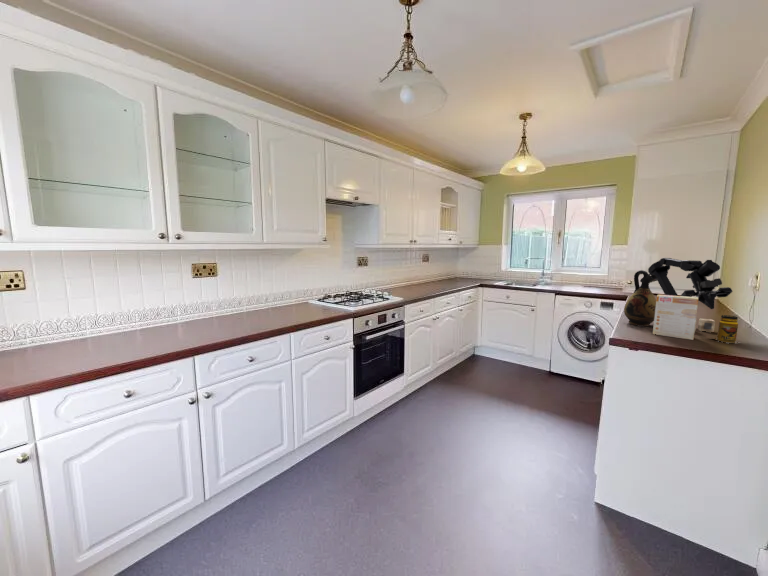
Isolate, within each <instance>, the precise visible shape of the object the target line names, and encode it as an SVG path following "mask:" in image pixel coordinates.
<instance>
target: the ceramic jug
mask: <svg viewBox="0 0 768 576" xmlns="http://www.w3.org/2000/svg"><path fill="white" fill-rule="evenodd" d="M640 275H643V277H642V278H640V280H639V276H640ZM633 280H634V281H633V283H634V288H635V290H634V291H633V293H632V294H631V296H629V297H628V299H627V301H626V302H625V304H624V308H623V311H624V312H623V313H624V316H625V317H626V318H627V319H628V323H629V324H631V325H634V326H638V327H639V326H640V327H649V326H650V324H652V323H654V317H655V308H656V299H657V298H656V297H655V294H654V293H653V291H652V290H651V288H650V283H654V282H658V278H657V276H656V275H650V274H649V272H647V271H646V270H642V269H641V270H638V271H636V272H635V273H634V275H633ZM640 283H641V284H640Z"/></svg>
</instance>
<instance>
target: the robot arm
mask: <svg viewBox="0 0 768 576" xmlns="http://www.w3.org/2000/svg"><path fill="white" fill-rule="evenodd" d="M671 267H675V268H680V270H682V271H685V272H688V273H687V275H686V279H690V280H691V283H692V285H693V286H692V288H693V289H687V290H684V291H683V292H682V293H681V294H680V296H686V297H698V302H700V303H701V304H703V305H705V306H706V307H707V308H709V309H710V310H714V309H715V301H716V300H715V299H716V298H727V297H728V296H729V295H731V294H732V293H733V289H732V288H731V287H728V286H727V287H719V286H722V285H723V281H722V279H721V278H714V279H712V280H710V279H707V277H711V276H712V275H714V274H715V273H717V272H718V271H720V269H721V267H720V264H718V263H717V262H715V261H713V259H706V260H705V261H704V262H703V261H701V260H692V259H691V260H688V259H687V260H681V259H676V258H671V257H662V258H660V260H657V261H656V262H653V263H652V264H651V265H650V266H649V267H648V269H647V271H648V272H647V273H648V274H650V276H651V275H656V276H657V278H658V281H657V282H658V284H659V286H660V288H661V290H662V292H663V293H664V294H663V295H673V296H679V295H678V293H677V291H676V290H675V288H674V286H673V285H672V283H671V281H670V279H669V277H668V274H669V270H670V269H671ZM689 272H690V273H689ZM716 287H719V288H718V289H717V290H715V289H716Z"/></svg>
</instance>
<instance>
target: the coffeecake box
mask: <svg viewBox="0 0 768 576" xmlns="http://www.w3.org/2000/svg"><path fill="white" fill-rule="evenodd" d="M655 299H656V308H655V317H654V321H653V326H652V327H653V328H652V335H655V334H656V335H655V336H657V335H658V336H664V337H671V338H677V339H683V340H692V341H693V340H694V338H695V333H696V331H695V324H696V325H697V323H696V320H697V316H698V308H699V301H698V297H696V296H690V297H686V296H681V295H678V296H673V295H665V294H657V295H656V298H655ZM694 332H695V333H694Z"/></svg>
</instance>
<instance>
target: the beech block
mask: <svg viewBox="0 0 768 576" xmlns="http://www.w3.org/2000/svg"><path fill="white" fill-rule="evenodd" d="M715 326H716V321H715V320H714V319H711V318H699V319H698V327H697V330H698V331H699V330H700V331H699V332H702V331H706V332H705V333H711V332H715Z"/></svg>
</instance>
